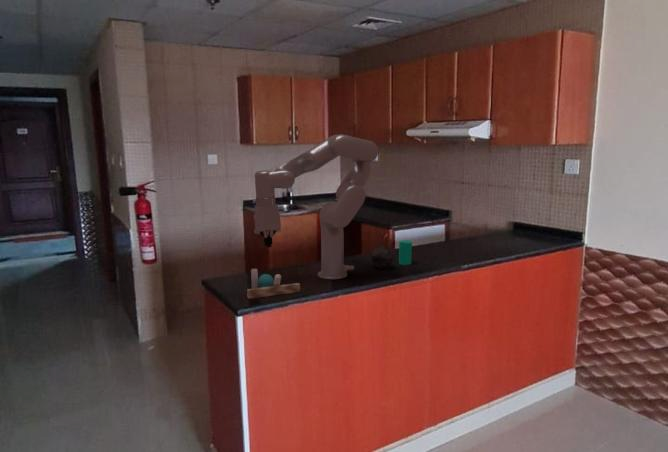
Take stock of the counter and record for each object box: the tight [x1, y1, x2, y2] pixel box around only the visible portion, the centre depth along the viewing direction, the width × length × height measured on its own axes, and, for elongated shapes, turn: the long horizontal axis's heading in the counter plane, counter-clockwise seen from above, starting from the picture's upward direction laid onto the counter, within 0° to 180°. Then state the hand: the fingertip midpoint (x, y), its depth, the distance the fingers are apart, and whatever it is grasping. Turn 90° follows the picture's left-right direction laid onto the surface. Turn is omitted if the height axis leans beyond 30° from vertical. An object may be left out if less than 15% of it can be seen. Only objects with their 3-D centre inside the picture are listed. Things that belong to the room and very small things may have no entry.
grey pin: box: [250, 268, 259, 289], centre depth 177 cm, size 2×2×9 cm
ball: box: [258, 273, 274, 288], centre depth 181 cm, size 6×6×6 cm
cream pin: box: [273, 273, 282, 286], centre depth 177 cm, size 2×2×9 cm
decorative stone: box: [371, 245, 394, 269], centre depth 212 cm, size 10×10×10 cm
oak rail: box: [246, 282, 301, 299], centre depth 175 cm, size 20×2×3 cm, turn 113°
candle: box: [398, 238, 413, 266], centre depth 220 cm, size 6×6×12 cm
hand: (268, 246), depth 189 cm, fingers closed
